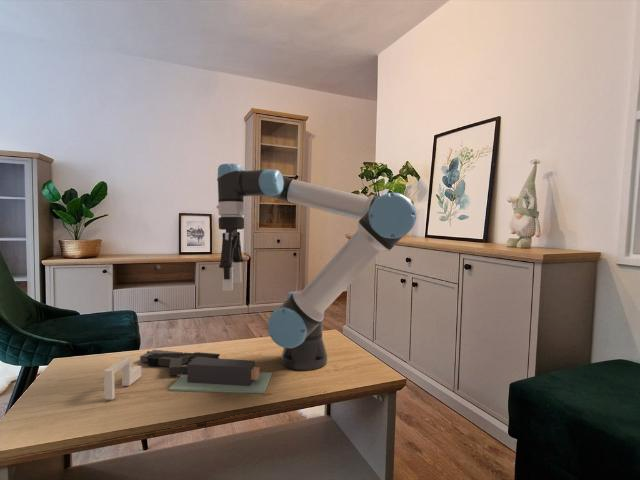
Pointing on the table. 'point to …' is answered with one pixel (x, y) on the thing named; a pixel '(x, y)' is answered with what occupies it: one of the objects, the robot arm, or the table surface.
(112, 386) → the white arch
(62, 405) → the table surface
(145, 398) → the table surface
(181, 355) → the pistol
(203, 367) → the dark grey rectangular bar
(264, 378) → the mat
